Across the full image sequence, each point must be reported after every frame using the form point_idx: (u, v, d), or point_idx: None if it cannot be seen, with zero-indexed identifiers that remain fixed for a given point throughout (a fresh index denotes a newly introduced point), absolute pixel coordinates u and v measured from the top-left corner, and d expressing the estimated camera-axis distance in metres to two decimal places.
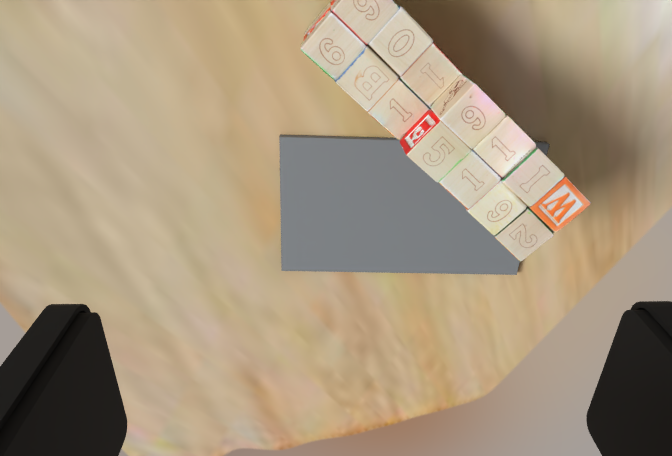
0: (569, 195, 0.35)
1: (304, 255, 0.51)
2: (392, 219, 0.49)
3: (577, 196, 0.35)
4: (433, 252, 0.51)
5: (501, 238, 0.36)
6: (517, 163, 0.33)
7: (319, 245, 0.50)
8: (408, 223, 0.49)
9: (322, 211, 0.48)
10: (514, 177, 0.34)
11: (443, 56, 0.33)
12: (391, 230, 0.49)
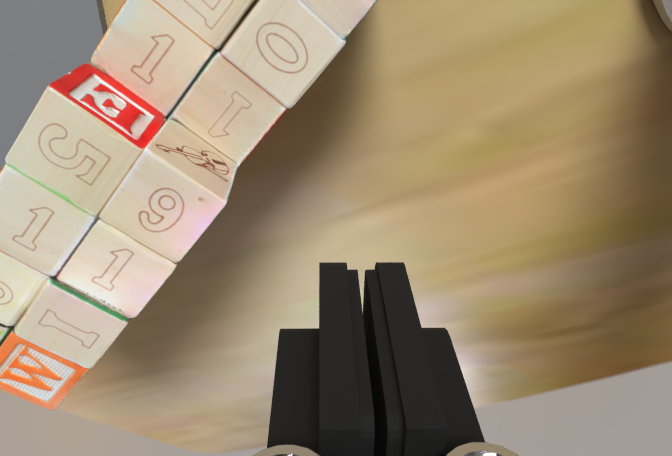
0: (57, 380, 0.20)
1: None
2: None
3: (58, 392, 0.20)
4: None
5: None
6: (92, 297, 0.18)
7: None
8: None
9: None
10: (62, 299, 0.18)
11: (265, 130, 0.18)
12: None
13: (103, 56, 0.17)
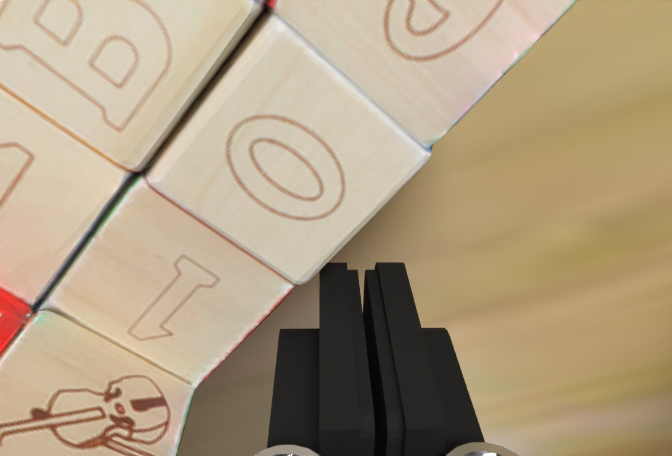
0: None
1: None
2: None
3: None
4: None
5: None
6: None
7: None
8: None
9: None
10: None
11: (249, 325, 0.09)
12: None
13: None
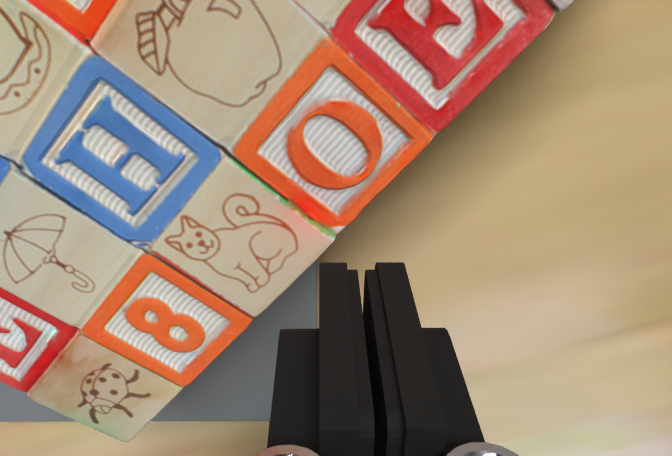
0: None
1: None
2: None
3: None
4: None
5: None
6: None
7: None
8: None
9: None
10: None
11: None
12: None
13: None
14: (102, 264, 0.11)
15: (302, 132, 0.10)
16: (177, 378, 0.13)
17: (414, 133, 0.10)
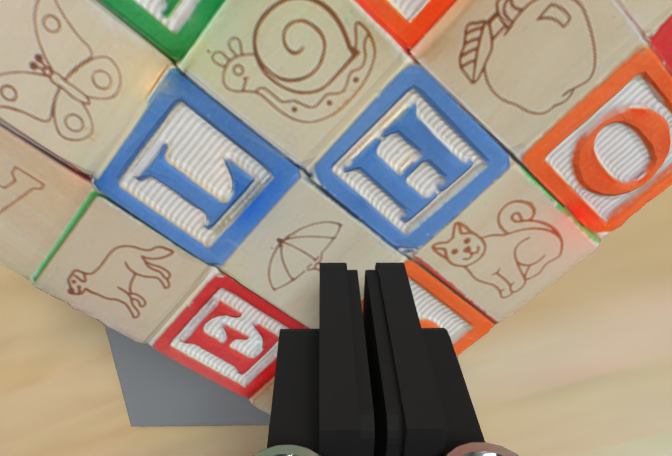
0: None
1: None
2: None
3: None
4: None
5: None
6: None
7: None
8: None
9: None
10: None
11: None
12: None
13: None
14: (364, 271, 0.11)
15: (595, 139, 0.10)
16: None
17: None
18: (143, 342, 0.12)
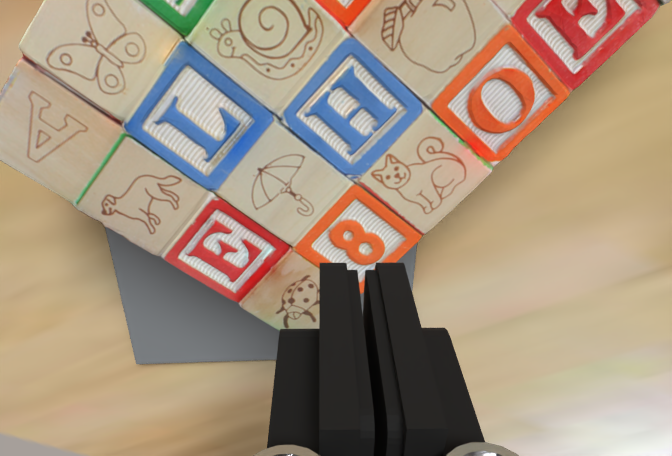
0: None
1: None
2: None
3: None
4: None
5: None
6: None
7: None
8: None
9: None
10: None
11: None
12: None
13: None
14: (323, 193, 0.15)
15: (481, 91, 0.14)
16: None
17: (557, 90, 0.15)
18: (157, 254, 0.16)
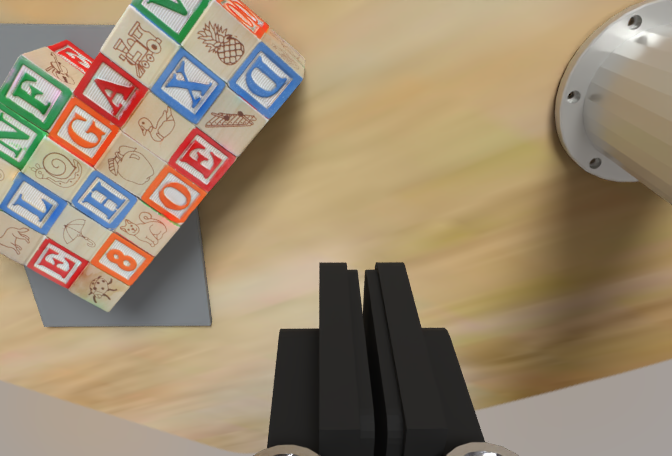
0: None
1: None
2: None
3: None
4: None
5: None
6: None
7: None
8: None
9: None
10: None
11: (89, 67, 0.27)
12: None
13: None
14: (98, 236, 0.32)
15: (163, 192, 0.31)
16: (127, 282, 0.34)
17: (200, 192, 0.31)
18: (23, 264, 0.33)
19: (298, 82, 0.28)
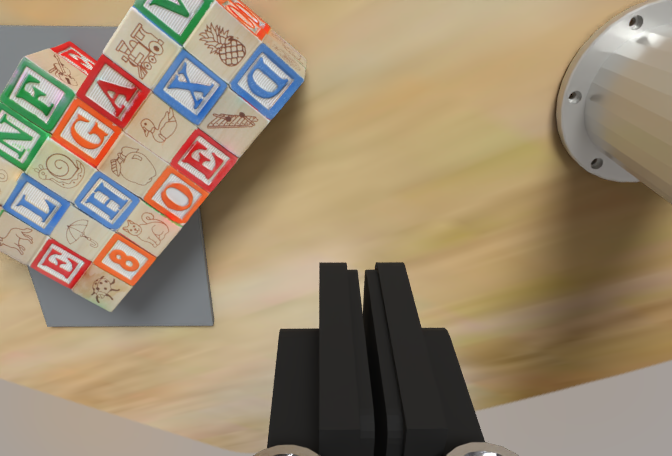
0: None
1: None
2: None
3: None
4: None
5: None
6: None
7: None
8: None
9: None
10: None
11: (92, 68, 0.28)
12: None
13: None
14: (100, 237, 0.32)
15: (165, 192, 0.31)
16: (129, 282, 0.34)
17: (202, 192, 0.31)
18: (26, 264, 0.33)
19: (299, 83, 0.28)
